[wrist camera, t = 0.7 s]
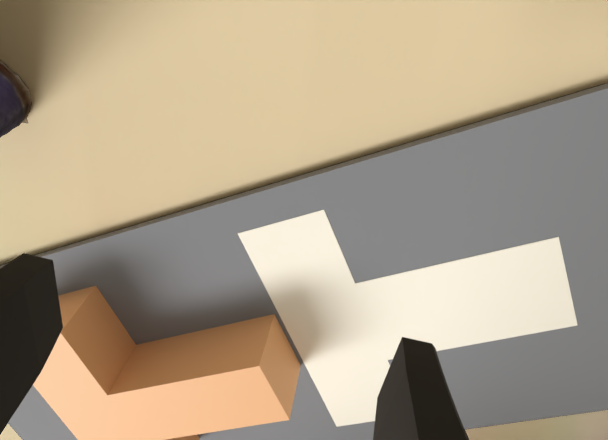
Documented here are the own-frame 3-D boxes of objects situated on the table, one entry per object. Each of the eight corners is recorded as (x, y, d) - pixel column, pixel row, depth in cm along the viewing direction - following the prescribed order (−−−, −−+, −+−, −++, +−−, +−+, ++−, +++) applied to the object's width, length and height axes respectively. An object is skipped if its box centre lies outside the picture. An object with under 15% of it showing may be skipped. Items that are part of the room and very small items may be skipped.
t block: (150, 446, 30) (126, 499, 27) (41, 300, 25) (1, 346, 23) (328, 418, 26) (320, 475, 24) (239, 247, 22) (218, 294, 20)
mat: (66, 478, 33) (62, 485, 33) (-96, 294, 27) (-102, 299, 27) (655, 395, 23) (659, 403, 23) (609, 82, 17) (614, 86, 17)
